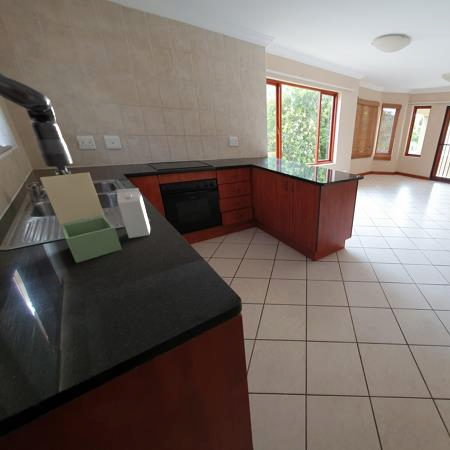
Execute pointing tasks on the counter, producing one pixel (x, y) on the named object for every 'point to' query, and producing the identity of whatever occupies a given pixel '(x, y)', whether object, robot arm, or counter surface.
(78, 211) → the bin lid
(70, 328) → the counter surface
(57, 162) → the robot arm
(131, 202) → the milk carton
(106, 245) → the bin
